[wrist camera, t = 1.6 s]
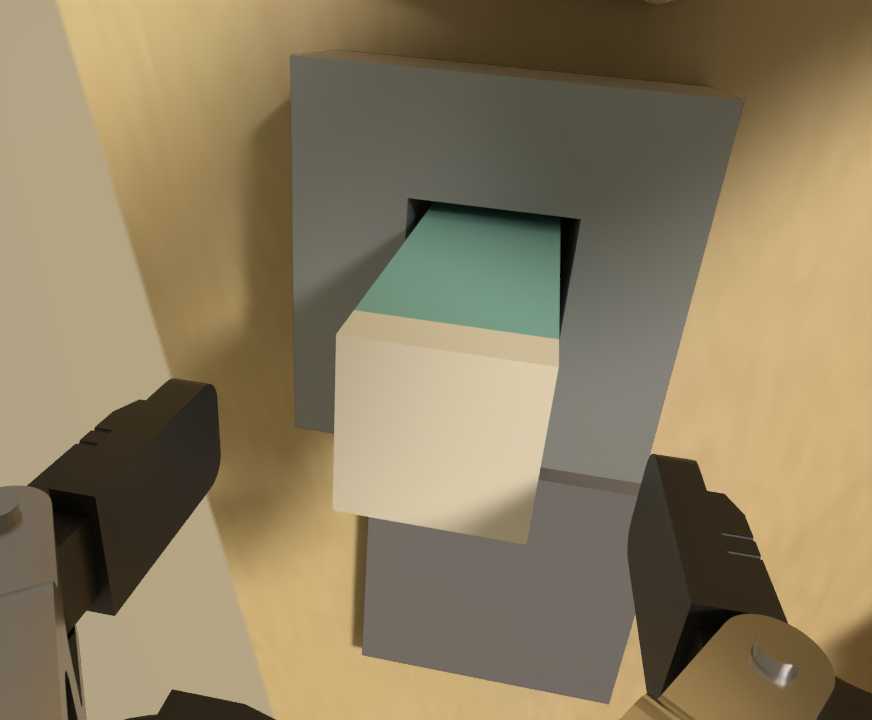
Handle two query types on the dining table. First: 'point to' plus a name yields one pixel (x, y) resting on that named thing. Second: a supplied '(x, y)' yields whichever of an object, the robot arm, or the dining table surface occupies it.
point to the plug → (452, 375)
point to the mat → (511, 592)
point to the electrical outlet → (658, 1)
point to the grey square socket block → (516, 191)
